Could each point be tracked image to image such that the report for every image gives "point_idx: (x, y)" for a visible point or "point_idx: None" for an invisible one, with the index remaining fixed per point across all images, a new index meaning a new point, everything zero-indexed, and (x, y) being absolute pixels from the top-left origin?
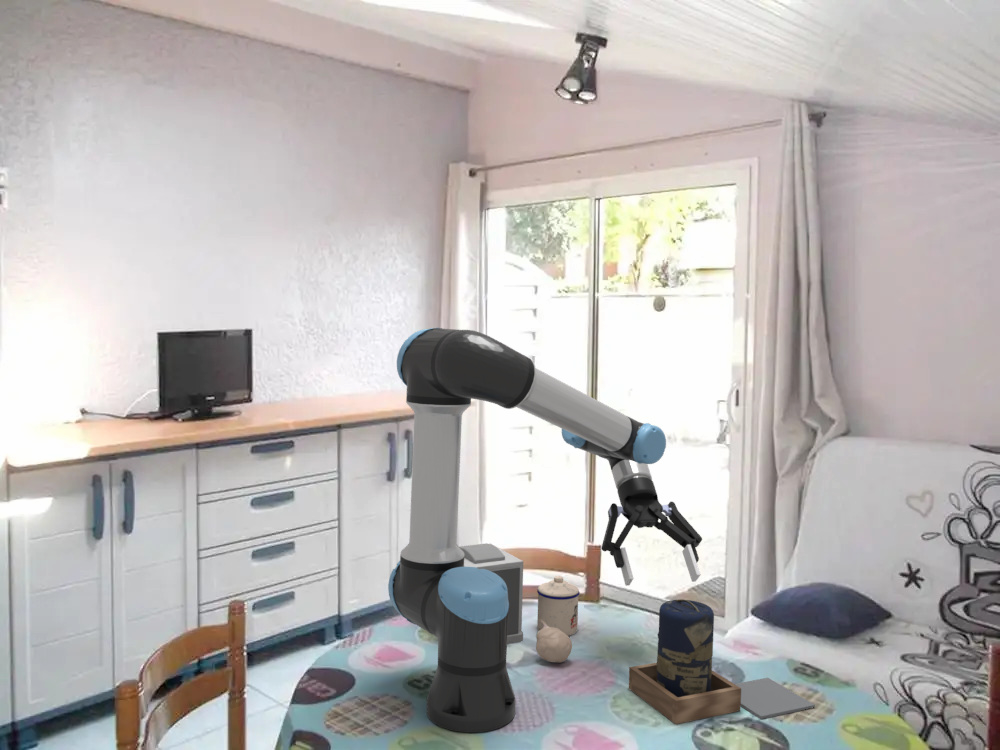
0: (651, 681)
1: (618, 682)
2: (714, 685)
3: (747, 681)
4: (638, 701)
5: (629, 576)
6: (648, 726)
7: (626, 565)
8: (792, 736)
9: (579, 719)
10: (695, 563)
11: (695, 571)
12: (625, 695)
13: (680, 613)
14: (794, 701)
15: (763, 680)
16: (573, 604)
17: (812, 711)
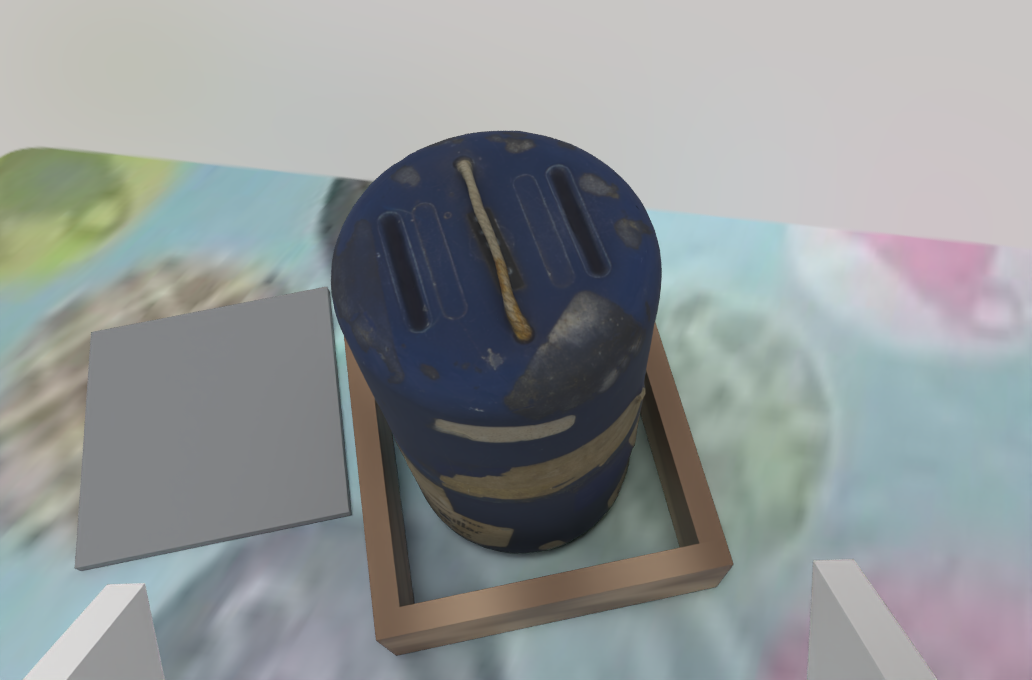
0: (673, 407)
1: (746, 659)
2: (385, 438)
3: (186, 544)
4: (705, 468)
5: (860, 571)
6: (722, 297)
7: (914, 655)
8: (304, 197)
9: (963, 368)
10: (52, 664)
11: (126, 614)
12: (745, 526)
13: (581, 157)
14: (138, 363)
15: (114, 543)
16: None
17: (124, 317)
